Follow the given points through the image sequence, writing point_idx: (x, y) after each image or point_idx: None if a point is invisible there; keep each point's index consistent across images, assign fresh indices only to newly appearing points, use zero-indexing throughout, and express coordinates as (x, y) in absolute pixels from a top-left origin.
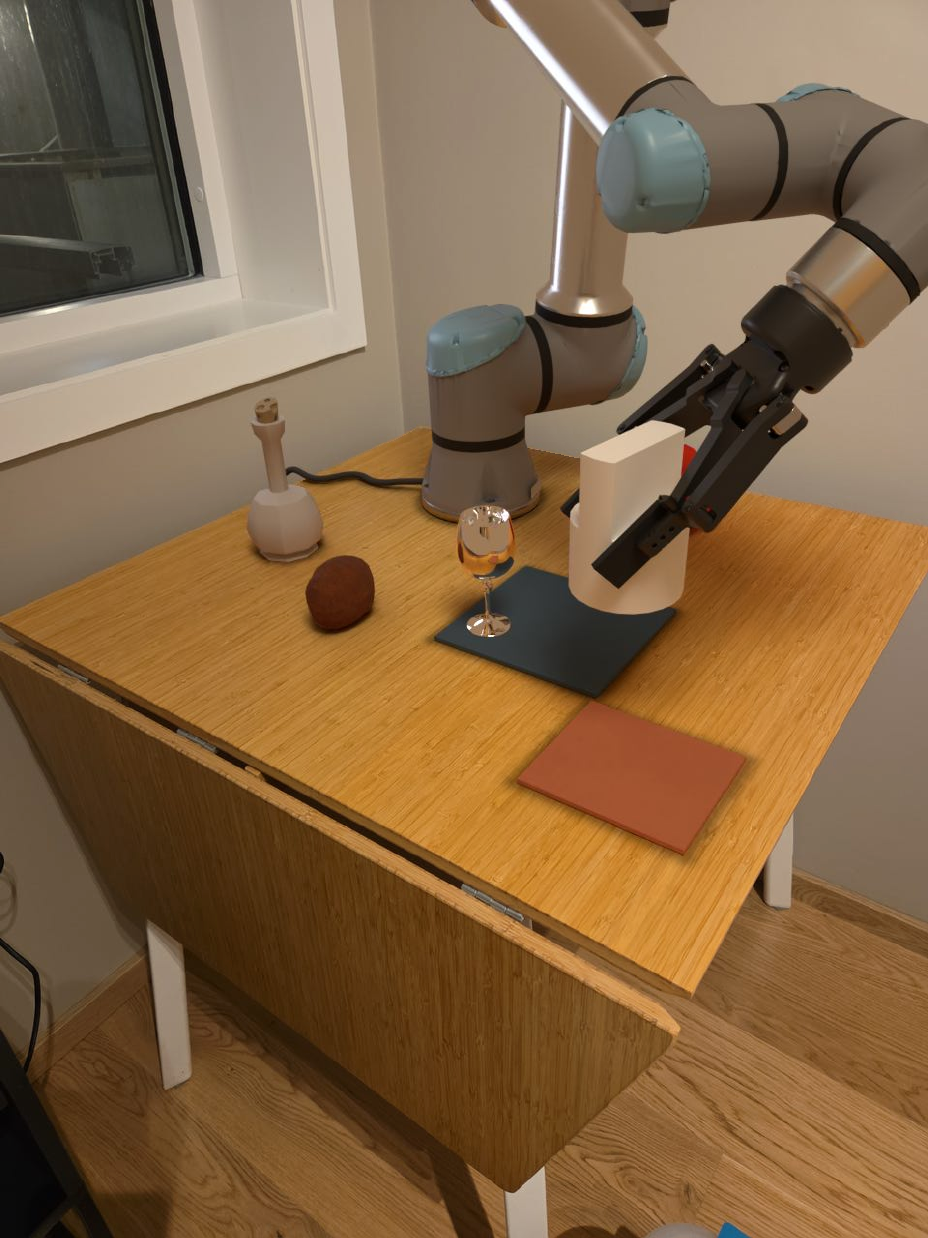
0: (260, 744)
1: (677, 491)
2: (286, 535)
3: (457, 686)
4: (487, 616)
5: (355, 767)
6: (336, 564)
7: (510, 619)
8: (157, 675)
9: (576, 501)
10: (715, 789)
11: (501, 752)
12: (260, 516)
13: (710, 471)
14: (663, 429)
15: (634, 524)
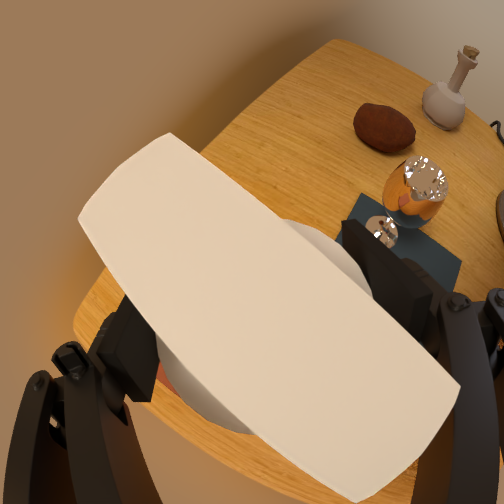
0: (241, 118)
1: (82, 389)
2: (429, 102)
3: (303, 212)
4: (383, 227)
5: (217, 162)
6: (387, 111)
7: (391, 248)
8: (301, 75)
9: (351, 237)
10: (171, 385)
11: None
12: (431, 86)
13: (32, 448)
14: (368, 438)
15: (127, 307)
